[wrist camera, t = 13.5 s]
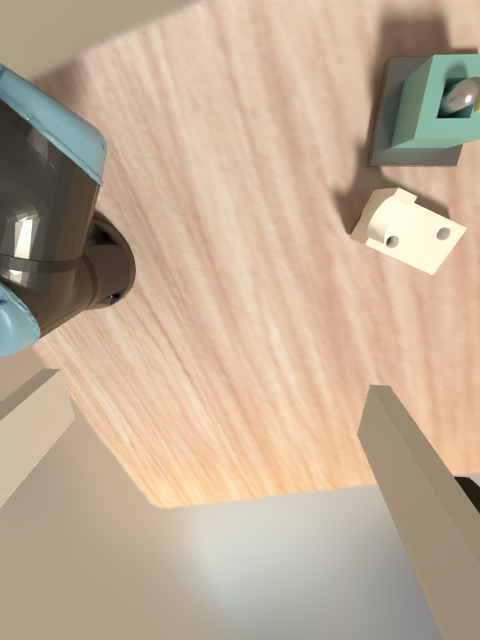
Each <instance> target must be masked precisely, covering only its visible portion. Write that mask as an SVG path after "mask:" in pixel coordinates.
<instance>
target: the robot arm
mask: <svg viewBox="0 0 480 640" xmlns="http://www.w3.org/2000/svg"><path fill="white" fill-rule="evenodd" d="M106 155H107V146H106V142H105V140H104V138H103V136H102V134H101V133H100V132H99V130H98V129H97V128H96V127H94V126H93V125H92V124H90V123H89V122H88V121H86V120H85V119H83V118H82V117H80V116H79V115H77V114H76V113H74V112H73V111H72V110H70V109H69V108H67V107H66V106H64V105H63V104H61V103H60V102H58V101H57V100H55V99H54V98H52V97H51V96H49V95H48V94H46V93H45V92H43V91H42V90H40V89H39V88H37V87H36V86H34V85H33V84H31V83H30V82H28V81H27V80H25V79H24V78H22V77H21V76H19V75H18V74H16V73H14V72H13V71H11V70H10V69H8V68H6V67H5V66H4V65H2V64H1V63H0V357H5V356H9V355H12V354H14V353H16V352H18V351H20V350H22V349H24V348H26V347H28V346H31V345H34V344H35V343H36V342H38V341H37V340H39V339H40V338H42V337H43V336H45V335H46V334H48V333H49V332H51V331H53V330H54V329H56V328H57V327H59V326H60V325H62V324H63V323H65V322H67V321H68V320H70V319H71V318H73V317H74V316H76V315H77V314H79V313H81V312H82V311H84V310H92V309H101V308H105V307H108V306H111V305H113V304H115V303H117V302H118V301H119V300H121V299H122V298H123V297H125V296H126V295H127V294H128V292H129V291H130V289H131V288H132V286H133V283H134V280H135V273H136V268H135V261H134V257H133V254H132V251H131V249H130V247H129V245H128V243H127V242H126V240H125V239H124V238H123V236H122V235H121V234H120V233H119V232H118V231H117V230H116V229H115V228H114V227H112V226H111V225H110V224H108V223H107V222H105V221H103V220H101V219H99V218H96V217H93V213H94V209H95V205H96V201H97V197H98V193H99V190H100V186H103V181H102V175H103V170H104V165H105V160H106ZM74 419H75V415H74V412H73V408H72V405H71V402H70V398H69V395H68V392H67V389H66V385H65V382H64V379H63V376H62V372H61V369H42V370H41V371H40V372H39V373H37V374H36V375H35V376H34V377H32V378H31V379H30V380H29V381H27V382H26V383H25V384H23V385H22V386H21V387H20V388H18V389H17V390H16V391H14V392H13V393H12V394H11V395H9V396H8V397H7V398H5V399H4V400H3V401H2V402H0V507H1V506H2V505H3V504H4V503H5V501H6V500H7V499H8V498H9V497H10V496H11V494H12V493H13V492H14V491H15V490H16V488H17V487H18V486H19V485H20V484H21V482H22V481H23V480H24V479H25V478H26V476H27V475H28V474H29V473H30V472H31V470H32V469H33V468H34V467H35V466H36V465H37V463H38V462H39V461H40V460H41V459H42V457H43V456H44V455H45V454H46V453H47V451H48V450H49V449H50V448H51V446H52V445H53V444H54V443H55V442H56V441H57V439H58V438H59V437H60V436H61V435H62V434H63V432H64V431H65V430H66V429H67V428H68V426H69V425H70V424H71V423H72V422H73V420H74ZM357 435H358V438H359V440H360V442H361V445H362V447H363V450H364V452H365V454H366V457H367V459H368V462H369V464H370V466H371V469H372V471H373V473H374V476H375V478H376V481H377V483H378V485H379V488H380V490H381V492H382V495H383V497H384V500H385V502H386V504H387V507H388V509H389V511H390V514H391V516H392V518H393V521H394V523H395V526H396V528H397V531H398V533H399V535H400V537H401V540H402V542H403V545H404V547H405V550H406V552H407V554H408V557H409V559H410V561H411V564H412V566H413V569H414V571H415V573H416V576H417V578H418V581H419V583H420V585H421V588H422V590H423V592H424V595H425V597H426V599H427V602H428V604H429V607H430V609H431V611H432V614H433V616H434V619H435V621H436V623H437V626H438V628H439V631H440V633H441V635H442V637H443V640H480V487H479V486H478V485H477V484H476V483H475V482H474V481H472V480H471V479H470V478H467V477H453V475H452V474H451V473H450V471H449V470H448V468H447V467H446V465H445V464H444V463H443V461H442V460H441V458H440V457H439V456H438V454H437V453H436V451H435V450H434V448H433V447H432V446H431V444H430V443H429V441H428V440H427V438H426V437H425V436H424V434H423V433H422V431H421V430H420V429H419V427H418V426H417V424H416V423H415V421H414V420H413V419H412V417H411V416H410V414H409V413H408V411H407V410H406V409H405V407H404V406H403V404H402V403H401V402H400V400H399V399H398V397H397V396H396V394H395V393H394V392H393V390H392V389H391V387H390V386H385V385H370V387H369V391H368V395H367V399H366V403H365V407H364V410H363V414H362V418H361V422H360V426H359V430H358V434H357Z"/></svg>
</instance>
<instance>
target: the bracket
mask: <svg viewBox="0 0 480 640" xmlns="http://www.w3.org/2000/svg"><path fill="white" fill-rule="evenodd" d="M416 198H417V196H415V195H413V194H411V193H409V192H407V191H405V190H403V189H400V188H388V189H376V190H374V191H373V193H372V195H371V197H370V199H369V200H368V202H367V204H366V206H365V207H364V209H363V211H362V213H361V215H362V216H361V218H360V220H359V221H358V223H357V225H356V227H355V228H354V230H353V232H352V234H351V236H350V237H349V238H351V239H353V240H355V241H358V242H360V243H362V244H364V245H366V246H369V247H371V248H373V249H375V250H378V251H380V252H382V253H384V254H387V255H389V256H391V257H393V258H395V259H398V260H400V261H402V262H404V263H407V264H409V265H411V266H413V267H416V268H418V269H420V270H422V271H424V272H427V273H429V274H431V275H433V274H434V273H435V271H436V270H437V269H438V267H439V266H440V265H441V263H442V262H443V260H444V259H445V258H446V256H447V255H448V254H449V252H450V251H451V250H452V248H453V247H454V245H455V244H456V243H457V241H458V240H459V239H460V237H461V236H462V234H463V233H464V232H465V230H466V229H467V228H465V227H463V226H461V225H459V224H457V223H455V222H453V221H451V220H449V219H447V218H444V217H442V216H440V215H438V214H436V213H434V212H432V211H430V210H428V209H426V208H423V207H421V206H419V205H417V204H415V203H414V201H415V200H416ZM390 236H391V241H390V243H389V244H387V245H386V241H387V239H388V238H389V237H390Z"/></svg>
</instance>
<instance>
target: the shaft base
mask: <svg viewBox="0 0 480 640" xmlns="http://www.w3.org/2000/svg"><path fill="white" fill-rule="evenodd" d="M429 58H431V57H391V58H390V59H389V60H388V61H387V62H386V63H385V68H384V73H383V79H382V85H381V90H380V96H379V101H378V107H377V112H376V118H375V123H374V129H373V135H372V140H371V146H370V151H369V157H368V162H367V166H387V167H452V166H457V162H458V159H459V155H460V152H461V149H462V145H463V144H460V145H456V146H453V147H449V148H391V144H392V139H393V134H394V129H395V124H396V119H397V115H398V110H399V105H400V100H401V95H402V90H403V85H404V81H405V79H406V78H407V77H408V76H409V75H411V74H412V73H413V72H414V71H415V70H416V69H418V68H419V67H420V66H421V65H422V64H423V63H425V62H426V61H427V60H428V59H429ZM479 99H480V77H477V76H475V77H472V78H470V79H468V80H466V81H464V82H463V83H461V84H459V85H457V86H456V87H454V88H452V89H450V90H449V91H447V92H445V93H444V94H442V98H441V102H440V106H439V110H438V114H437V118H442V117H445V116H447V115H449V114H451V113H453V112H456V111H458V110H460V109H462V108H465V107H467V106H469V105H471V104H473V103H475V102H477V101H478V100H479Z"/></svg>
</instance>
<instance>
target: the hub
mask: <svg viewBox="0 0 480 640" xmlns="http://www.w3.org/2000/svg"><path fill="white" fill-rule="evenodd" d="M475 76H477V77H480V54H453V55H433V56H432V57H431V58H429V59H428V60H427V61H426V62H425V63H423V64H422V65H421V66H420V67H419V68H418V69H416V70H415V71H414V72H413V73H412V74H411V75H409V76H408V77H407V78H406V79H405V81H404V85H403V90H402V95H401V100H400V105H399V110H398V115H397V119H396V124H395V129H394V134H393V139H392V144H391V148H449V147H453V146H456V145H460V144H463V143H467V142H470V141H474V140H478V139H480V99H479V100H478V101H477V102H475V103H473V104H471V105H469V106H467V107H465V108H462V109H460V110H458V111H456V112H453V113H451V114H449V115H447V116H445V117H442V118H437V114H438V110H439V106H440V102H441V98H442V94H444V93H445V92H447V91H449V90H450V89H452V88H454V87H456V86H457V85H459V84H461V83H463V82H464V81H466V80H468V79H470V78H472V77H475Z"/></svg>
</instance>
